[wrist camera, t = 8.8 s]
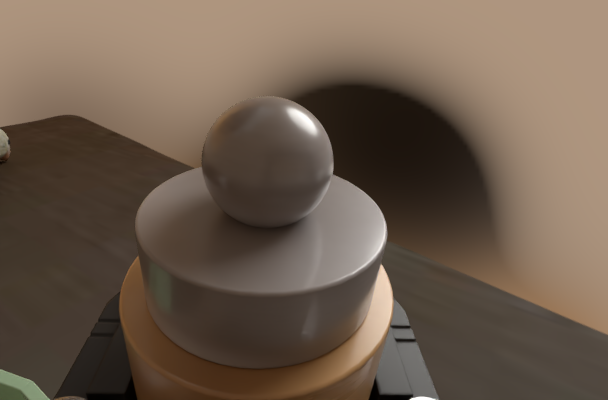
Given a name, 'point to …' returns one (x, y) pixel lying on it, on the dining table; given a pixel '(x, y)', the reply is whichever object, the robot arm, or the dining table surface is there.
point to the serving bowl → (19, 388)
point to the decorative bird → (4, 146)
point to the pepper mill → (258, 270)
